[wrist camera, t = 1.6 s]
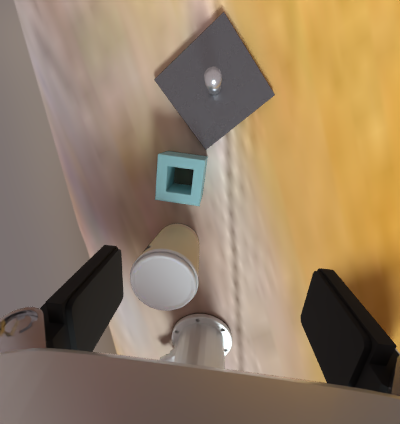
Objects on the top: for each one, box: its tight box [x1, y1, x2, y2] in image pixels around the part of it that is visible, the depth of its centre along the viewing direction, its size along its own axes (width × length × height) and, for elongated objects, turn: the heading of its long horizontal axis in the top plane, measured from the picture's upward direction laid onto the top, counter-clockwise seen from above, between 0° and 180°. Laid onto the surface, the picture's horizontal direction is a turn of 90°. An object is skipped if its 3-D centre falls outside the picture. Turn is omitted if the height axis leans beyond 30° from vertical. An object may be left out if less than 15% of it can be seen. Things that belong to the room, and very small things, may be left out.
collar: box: [155, 151, 208, 206], centre depth 34 cm, size 6×6×6 cm
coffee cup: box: [130, 224, 199, 311], centre depth 35 cm, size 9×9×12 cm
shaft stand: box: [154, 12, 275, 149], centre depth 29 cm, size 12×12×7 cm
